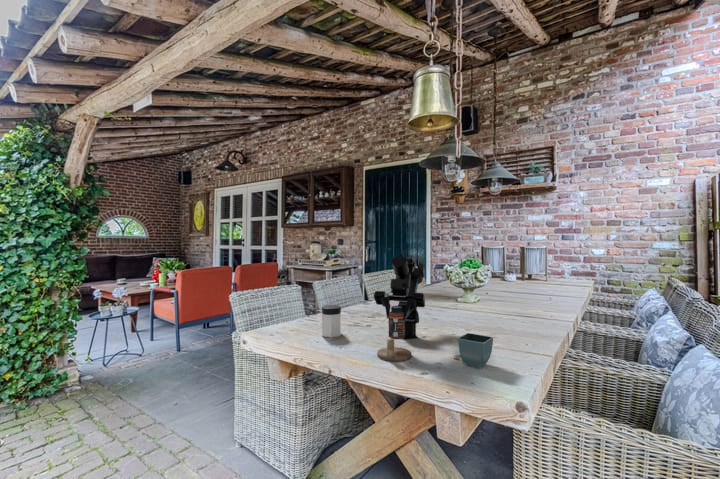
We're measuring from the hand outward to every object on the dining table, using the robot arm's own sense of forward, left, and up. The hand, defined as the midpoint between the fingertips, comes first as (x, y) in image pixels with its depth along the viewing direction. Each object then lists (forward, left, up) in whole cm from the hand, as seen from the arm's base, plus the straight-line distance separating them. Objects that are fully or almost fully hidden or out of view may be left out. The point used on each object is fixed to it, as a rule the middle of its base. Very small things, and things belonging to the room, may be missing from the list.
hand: (395, 318), depth 124 cm
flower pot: (-20, +18, -13) cm, 30 cm away
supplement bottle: (-1, -1, -7) cm, 8 cm away
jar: (+18, -30, -13) cm, 37 cm away
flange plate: (+2, +2, -12) cm, 13 cm away
